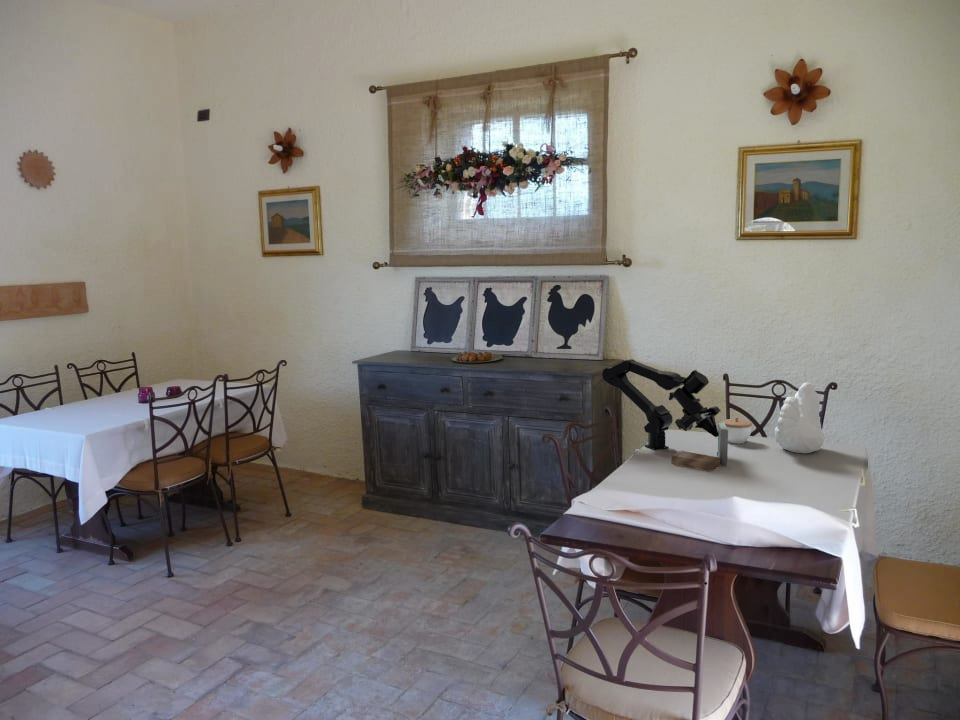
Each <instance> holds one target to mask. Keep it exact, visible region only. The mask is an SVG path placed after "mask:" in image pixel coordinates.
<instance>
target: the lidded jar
mask: <svg viewBox="0 0 960 720" xmlns="http://www.w3.org/2000/svg"><path fill="white" fill-rule="evenodd" d="M721 422H724V423H725V425H726V428H727V430H728V443H730V444H735V445H737V444H738V445H739V444H740V443H742V444H745V443H746V441H747V440H749V438H750V436H751V433H752V425H753V423H752V421H750V420H746V419H741V418H739V417H735V418H729V419H728V418H727V419H723V420H721ZM736 443H737V444H736ZM740 445H741V444H740Z"/></svg>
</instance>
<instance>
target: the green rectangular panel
mask: <svg viewBox="0 0 960 720" xmlns="http://www.w3.org/2000/svg"><path fill="white" fill-rule="evenodd" d="M717 424H718V426H717V427H718V428H717V430H718V434H719V436H718V437H717V451H716V457H719V458H720V466H728V450H729V449H728V447H729V444H728V443H729V442H728V430H727V428H726V425H725V423H724V422H722V421H721V422H718V423H717Z"/></svg>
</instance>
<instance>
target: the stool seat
mask: <svg viewBox="0 0 960 720" xmlns="http://www.w3.org/2000/svg"><path fill="white" fill-rule="evenodd" d="M670 464H671V465H676V466H681V467H686V468H691V469H696V470H701V471H707V472H711V470H712V471H713V469H714V470H716V469H718V468H719V467H721V465H720V458H719V457H718V456H713V455H706V454H703V453H702V454H701V453H697V452H696V453H695V452H692V451H691V452H690V451H685V450H681V451H679V452H676V453H673V454H671V463H670ZM717 467H718V468H717Z"/></svg>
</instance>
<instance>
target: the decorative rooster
mask: <svg viewBox="0 0 960 720" xmlns="http://www.w3.org/2000/svg"><path fill="white" fill-rule="evenodd" d="M815 389H816V388H815V385H814V384H813V382H807V381H805V382H803V383H802V384H801V385H800V387H799V388H798V390H797V392H795V395H794V396H787V397H786V398H785V400H784V402H783V405H782V406H781V407H780V411H779V415H778V416H779V417H778V419H777V421H776V422H777V423H776V424H777V425H776V427H775V428H774V434H775V435H774V436H775V441H776V443H778V444H779V446H780V447H781V448H782V449H784V450H787V451H789V452H791V453H794V452H795V453H796V454H797V453H798V454H810V453H813V452H817V451H819V450H820V449H822V447H823V445H824V442H825V441H824V440H825V438H824V433H823V429H822V423H821V420H820V405H821V404H820V401H821V400H820V395H819V394H818V392H817V391H816V390H815Z"/></svg>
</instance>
